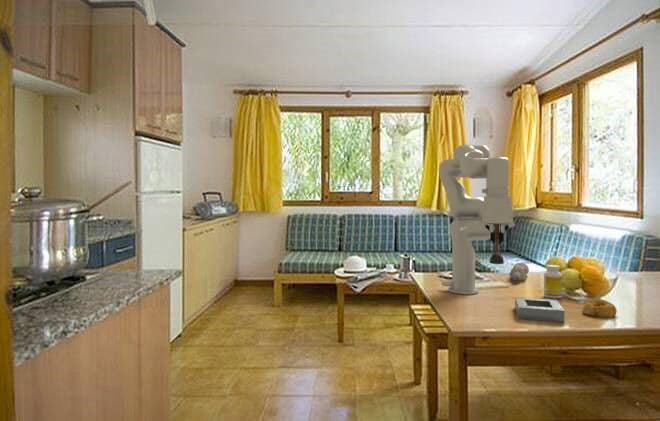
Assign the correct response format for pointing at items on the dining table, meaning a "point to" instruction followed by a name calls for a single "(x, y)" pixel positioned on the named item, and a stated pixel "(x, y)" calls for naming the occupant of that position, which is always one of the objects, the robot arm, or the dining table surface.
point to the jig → (539, 309)
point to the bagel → (599, 308)
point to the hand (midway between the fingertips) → (496, 243)
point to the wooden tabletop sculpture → (496, 257)
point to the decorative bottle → (519, 272)
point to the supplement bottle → (553, 282)
